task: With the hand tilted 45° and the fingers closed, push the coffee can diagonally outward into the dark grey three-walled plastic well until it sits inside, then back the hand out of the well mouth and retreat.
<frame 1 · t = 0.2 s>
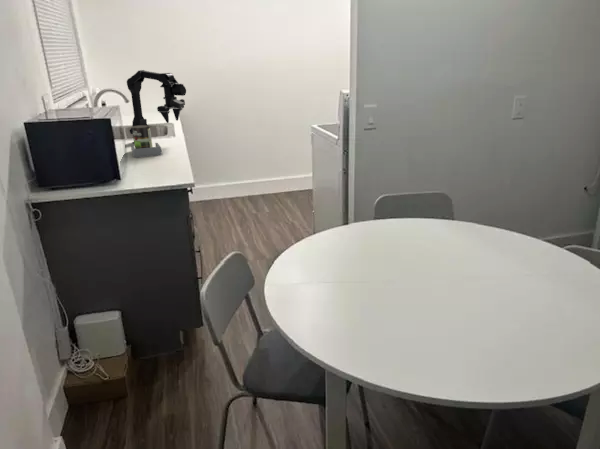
hand: (172, 121, 284), 14 cm above the kitchen counter, tool pointing down, fingers open, 9 cm apart
well: (146, 153, 268), on the kitchen counter
coffee can: (144, 150, 277), on the kitchen counter
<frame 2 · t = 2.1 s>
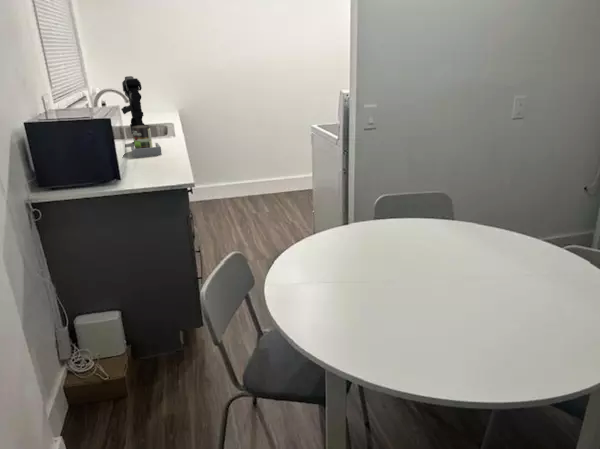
hand: (139, 126, 284), 12 cm above the kitchen counter, tool pointing down, fingers closed
nothing on the kitchen counter moved.
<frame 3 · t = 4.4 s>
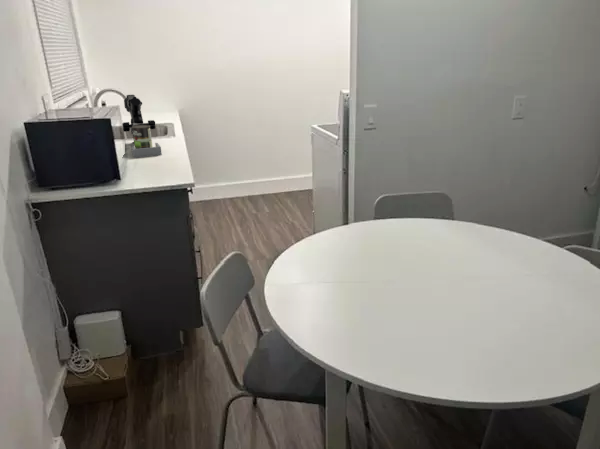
hand: (141, 137, 279), 7 cm above the kitchen counter, tool tilted 45°, fingers closed
coffee can: (144, 150, 277), on the kitchen counter, touching gripper
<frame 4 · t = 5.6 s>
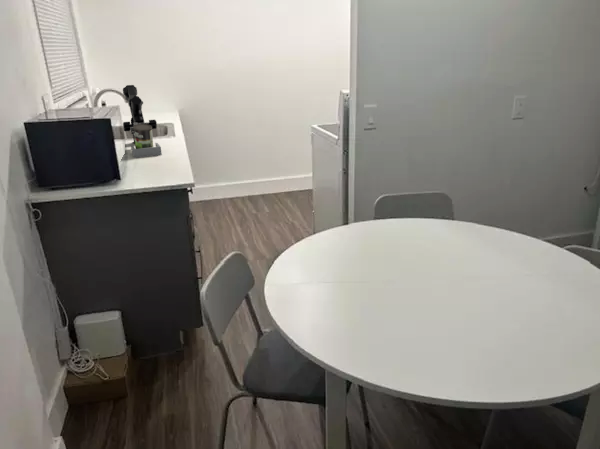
hand: (142, 136, 273), 8 cm above the kitchen counter, tool tilted 45°, fingers closed, pressing on coffee can
coffee can: (144, 150, 273), point 1 cm above the kitchen counter, touching gripper
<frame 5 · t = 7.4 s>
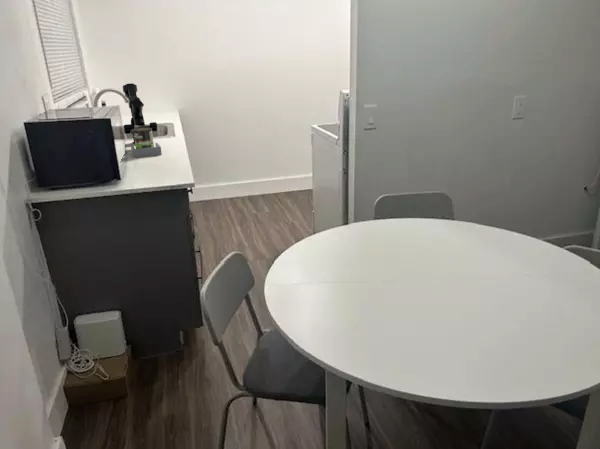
hand: (143, 139, 272), 7 cm above the kitchen counter, tool tilted 45°, fingers closed
coffee can: (146, 153, 269), on the kitchen counter
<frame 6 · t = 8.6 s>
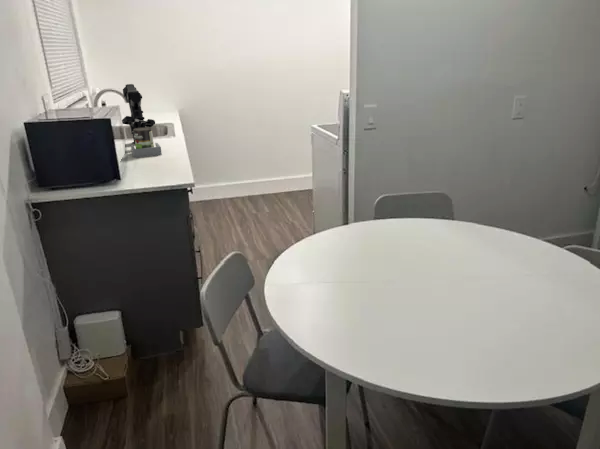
hand: (141, 135, 277), 8 cm above the kitchen counter, tool tilted 35°, fingers closed
nothing on the kitchen counter moved.
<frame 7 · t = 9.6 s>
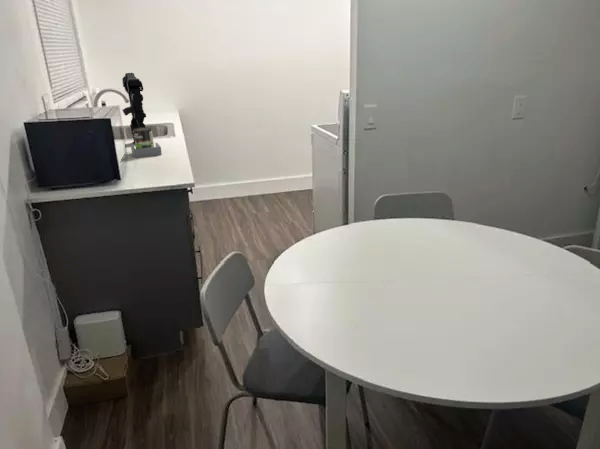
hand: (140, 128, 278), 12 cm above the kitchen counter, tool pointing down, fingers closed
nothing on the kitchen counter moved.
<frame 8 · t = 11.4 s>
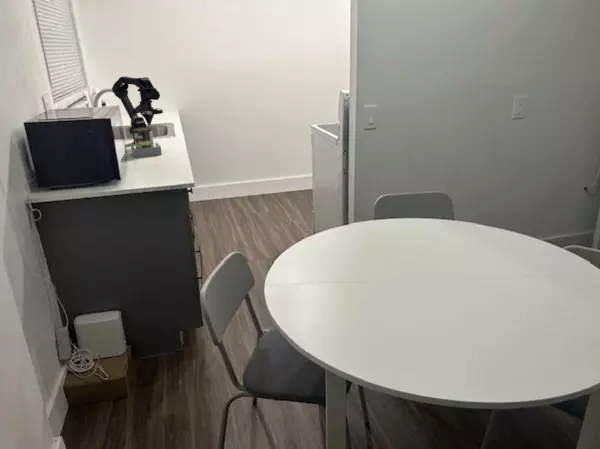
hand: (149, 125, 288), 12 cm above the kitchen counter, tool pointing down, fingers closed
nothing on the kitchen counter moved.
at the end: coffee can 1.0 cm from the well (horizontally); coffee can tilted 0° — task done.
